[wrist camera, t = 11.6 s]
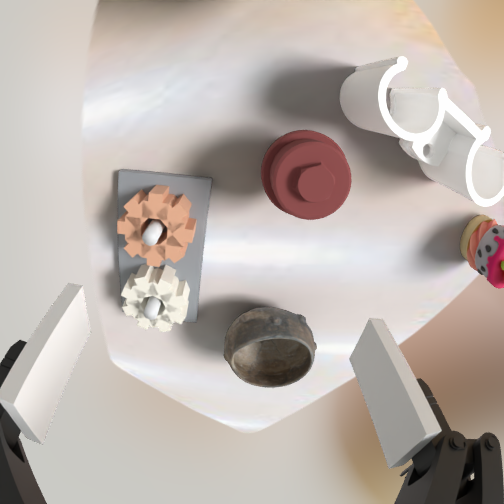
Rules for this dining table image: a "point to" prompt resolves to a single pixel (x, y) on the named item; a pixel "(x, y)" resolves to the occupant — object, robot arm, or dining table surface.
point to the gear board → (192, 261)
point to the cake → (485, 248)
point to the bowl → (270, 347)
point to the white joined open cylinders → (426, 130)
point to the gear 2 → (161, 287)
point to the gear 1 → (169, 213)
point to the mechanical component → (306, 174)
